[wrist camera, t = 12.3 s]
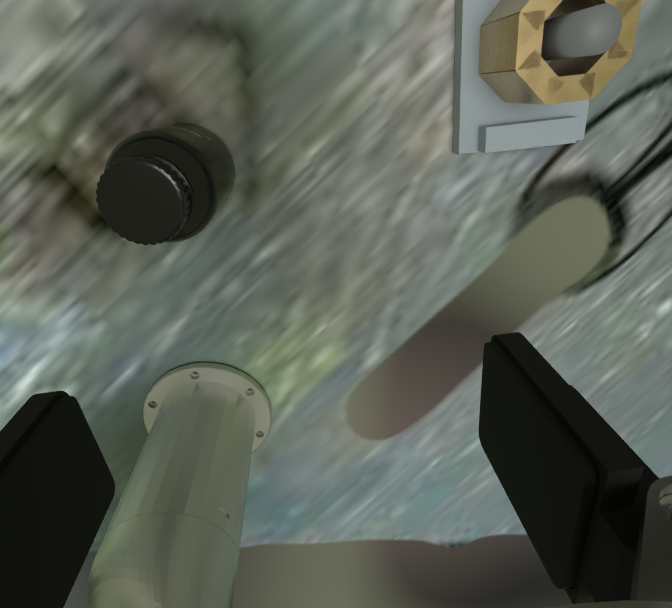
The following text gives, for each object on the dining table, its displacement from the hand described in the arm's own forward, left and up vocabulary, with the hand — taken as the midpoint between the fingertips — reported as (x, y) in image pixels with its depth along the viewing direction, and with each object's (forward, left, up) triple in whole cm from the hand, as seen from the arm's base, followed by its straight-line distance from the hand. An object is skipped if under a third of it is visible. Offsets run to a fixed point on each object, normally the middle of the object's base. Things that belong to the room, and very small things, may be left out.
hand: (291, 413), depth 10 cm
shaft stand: (+8, -18, -28) cm, 34 cm away
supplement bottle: (+2, +8, -28) cm, 30 cm away
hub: (+8, -18, -27) cm, 33 cm away
